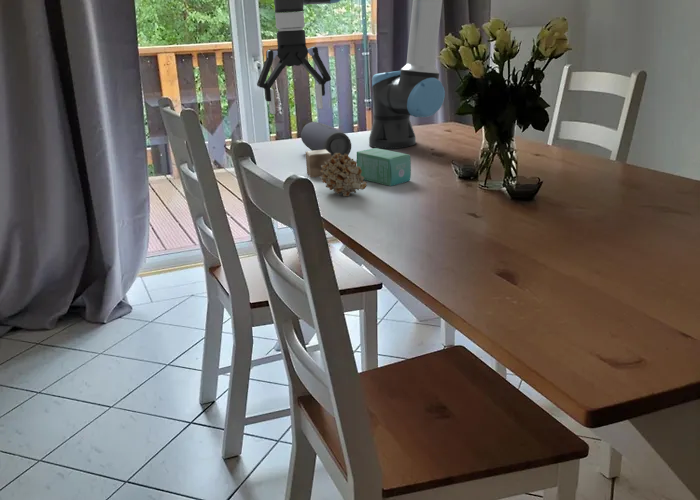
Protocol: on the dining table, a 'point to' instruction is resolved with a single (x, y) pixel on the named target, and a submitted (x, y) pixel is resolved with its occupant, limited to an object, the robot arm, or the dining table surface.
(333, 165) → the pine cone
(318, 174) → the walnut cube
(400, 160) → the box
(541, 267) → the dining table surface
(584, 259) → the dining table surface
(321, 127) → the bluetooth speaker
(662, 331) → the dining table surface
